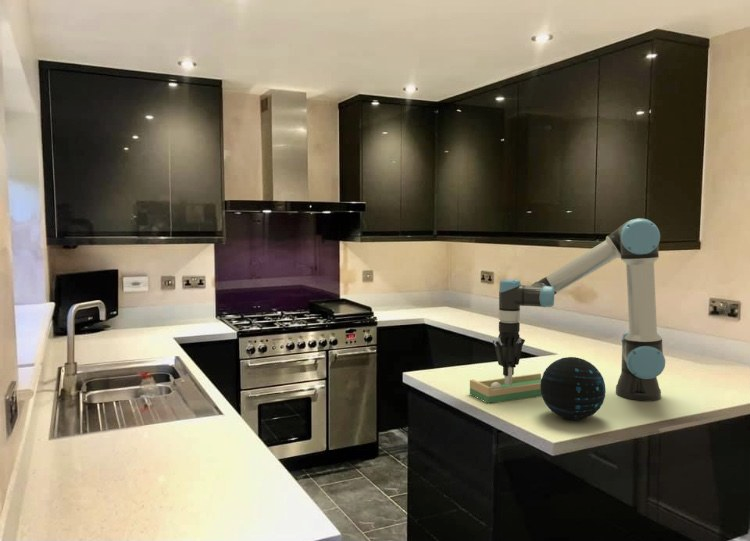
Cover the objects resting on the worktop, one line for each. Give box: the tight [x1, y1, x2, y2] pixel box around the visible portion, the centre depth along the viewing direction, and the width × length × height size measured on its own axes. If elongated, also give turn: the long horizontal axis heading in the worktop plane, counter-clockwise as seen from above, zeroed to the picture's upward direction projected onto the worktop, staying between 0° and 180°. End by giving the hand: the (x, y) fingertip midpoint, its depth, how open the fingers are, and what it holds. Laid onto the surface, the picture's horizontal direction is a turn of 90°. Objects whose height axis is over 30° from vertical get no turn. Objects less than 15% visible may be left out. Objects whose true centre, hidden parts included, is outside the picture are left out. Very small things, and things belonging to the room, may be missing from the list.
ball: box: [491, 382, 502, 390], centre depth 209 cm, size 4×4×4 cm
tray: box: [469, 372, 542, 404], centre depth 212 cm, size 12×32×6 cm, turn 113°
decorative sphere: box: [540, 356, 607, 421], centre depth 184 cm, size 20×20×20 cm
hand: (508, 384), depth 211 cm, fingers closed
